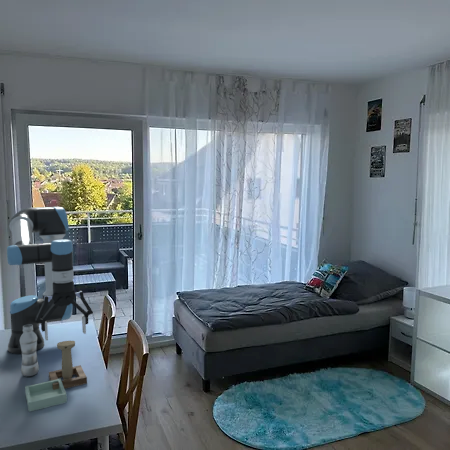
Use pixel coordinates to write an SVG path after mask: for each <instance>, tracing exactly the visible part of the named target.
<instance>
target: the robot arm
mask: <svg viewBox="0 0 450 450" xmlns="http://www.w3.org/2000/svg"><path fill="white" fill-rule="evenodd" d="M8 225H9V231H10V233H11V236H12V239H11V240H12V241H11V242H12V245H9V246H7V248H6V255H7V264H8V265H9V266H22V265H24V266H25V265H34V264H44V280H45V291H44V292H43V293H42V297H41V298H39V297H38V295H36V294H35V295H31V294H30V295H26V296H21V297H19V298H16V299H14V300H13V301H11V302H10V305H9V309H10V310H9V314H10V328H11V329H10V330H11V331H10V332H11V334H10V337H9V340H8V345H7V350H8V351H7V352H8V353H11V354H15V355H22V351H21V345H20V337H21V335H22V334H23V326H24V325H28V324H32V325H33V332H34V333H35V334H36V335H37V347H36V351H38V350H40V349H42V348H44V346H45V341H49V335H48V334H49V333H48V332H49V331H48V323H53V322H62V321H67V320H69V319H70V318H71V317H72V314H73V307H74V308H76V309H77V310H78V311H79V312H80V313H82V314H83V315H81V324H82V326H81V328H82V333H83V334H84V335H85V334H87V329H86V328H87V325H88V324H89V316H91V315H92V314H93V313H94V311H93V310H92V308H91V307H90V304H89V303H88V302H87V300H86V298H85V295H84V292H83V291H82V290H79V291H78V292H77V291H75V281H74V279H75V277H74V276H75V275H74V260H73V259H74V258H73V257H74V255H73V252H74V251H73V250H74V248H73V241H72V240H70V239H64V237H65V236H66V235H67V234H66V233H67V231H69V230H70V229H69V228H70V227H69V219H68V215H67V212H66V210H65V208H64V207H63V206H43V207H42V206H41V207H26V208H24V209H21V210H19V211H17V212H16V213H15V214H14V215H13V216H12V217H11V219H10V220H9V224H8ZM33 233H38V234H39V235H38V237H40V238H41V240H42V241H43V242H42V243H34V239H33ZM76 297H77V298H79V299H80V300H81V302H82V304H83V305H84V307H85V308H86V310H87V311H86V310H84V309H83V307H82V306H80V305H79V304H78V303H77V301H75V298H76ZM43 332H44V336H43V334H42V333H43Z"/></svg>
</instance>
